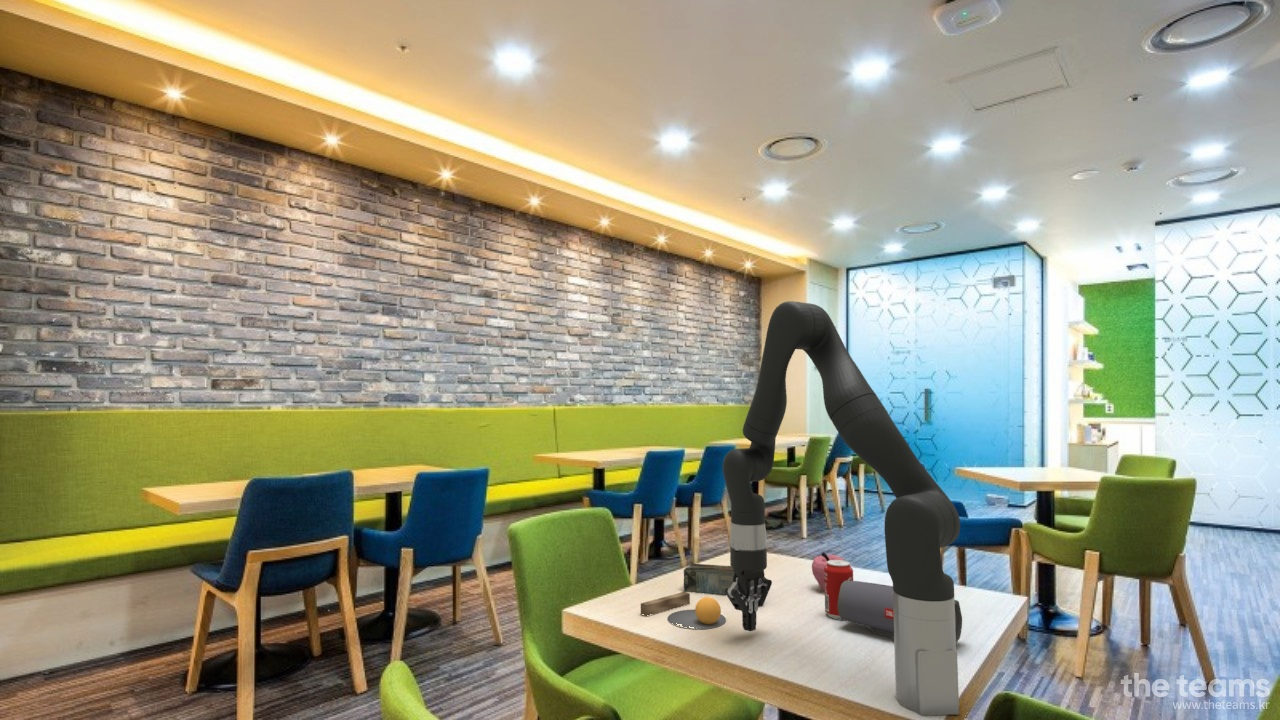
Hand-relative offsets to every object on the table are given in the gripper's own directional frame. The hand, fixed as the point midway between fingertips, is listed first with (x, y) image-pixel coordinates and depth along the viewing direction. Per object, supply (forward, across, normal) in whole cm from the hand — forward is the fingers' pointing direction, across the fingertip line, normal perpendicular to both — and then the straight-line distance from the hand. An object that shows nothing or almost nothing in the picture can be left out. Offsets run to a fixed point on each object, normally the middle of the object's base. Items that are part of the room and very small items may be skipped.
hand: (749, 629), depth 136 cm
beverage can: (+2, -26, +5) cm, 26 cm away
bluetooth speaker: (+2, -24, +20) cm, 31 cm away
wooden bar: (+2, 0, -25) cm, 25 cm away
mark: (+2, 0, -15) cm, 15 cm away
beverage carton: (+2, -21, -26) cm, 34 cm away
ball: (-1, 0, -12) cm, 12 cm away
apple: (+2, -42, -8) cm, 42 cm away
